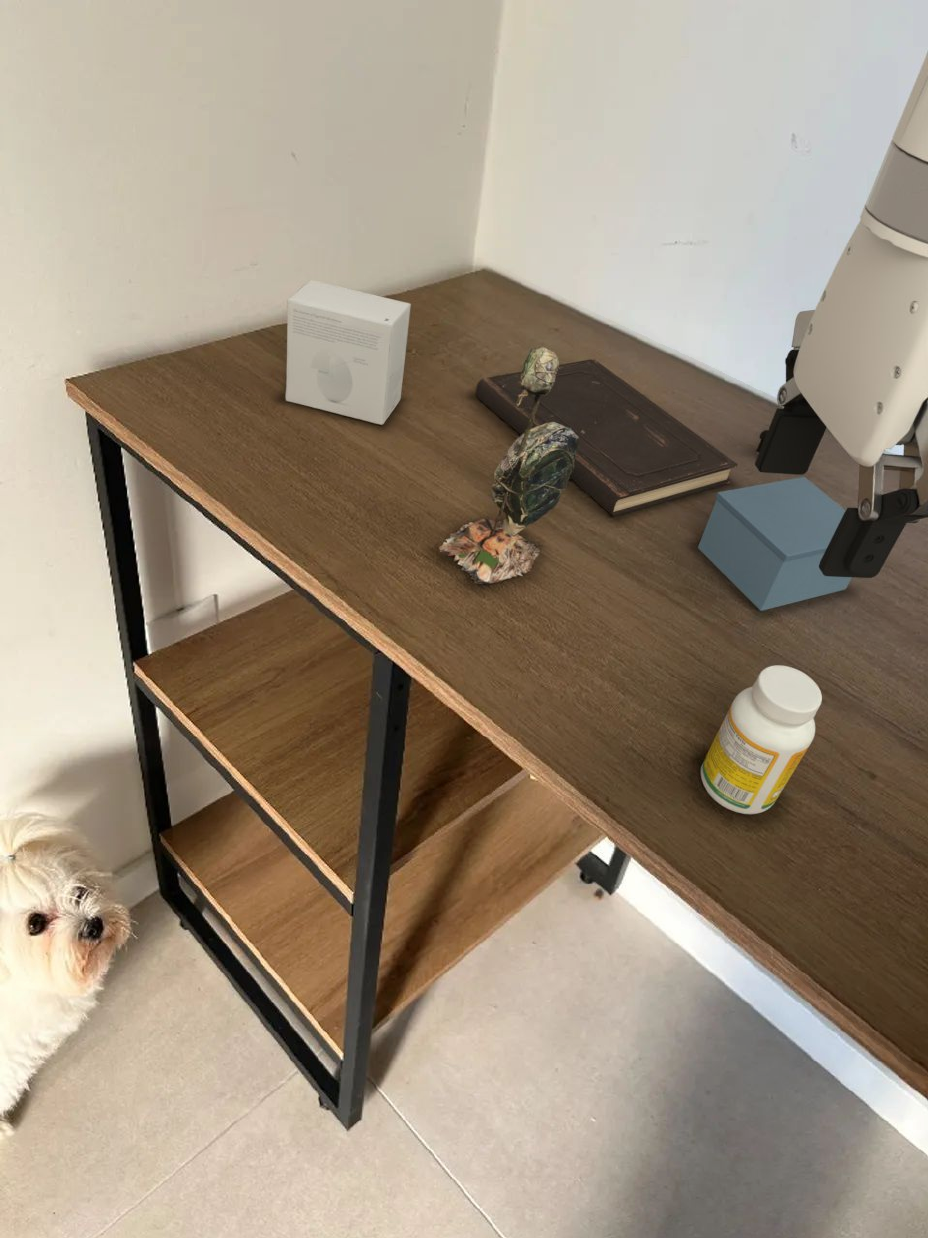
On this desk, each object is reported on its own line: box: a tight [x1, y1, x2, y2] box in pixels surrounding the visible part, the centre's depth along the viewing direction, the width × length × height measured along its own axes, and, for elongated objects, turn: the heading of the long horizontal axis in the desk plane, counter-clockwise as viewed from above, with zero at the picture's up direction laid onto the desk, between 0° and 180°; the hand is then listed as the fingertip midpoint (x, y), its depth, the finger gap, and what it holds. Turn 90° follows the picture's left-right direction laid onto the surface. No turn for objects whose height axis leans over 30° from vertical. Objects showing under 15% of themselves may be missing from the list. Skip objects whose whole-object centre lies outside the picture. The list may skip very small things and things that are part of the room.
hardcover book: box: [475, 358, 738, 517], centre depth 95 cm, size 16×23×2 cm
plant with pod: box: [438, 346, 585, 586], centre depth 73 cm, size 8×11×20 cm
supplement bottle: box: [700, 664, 823, 815], centre depth 60 cm, size 5×5×10 cm
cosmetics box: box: [284, 279, 412, 426], centre depth 91 cm, size 10×6×10 cm, turn 76°
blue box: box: [697, 476, 853, 612], centre depth 81 cm, size 9×10×6 cm
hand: (810, 518), depth 53 cm, fingers open, 9 cm apart
